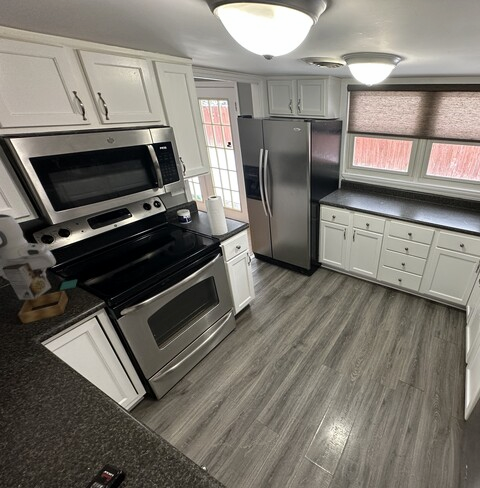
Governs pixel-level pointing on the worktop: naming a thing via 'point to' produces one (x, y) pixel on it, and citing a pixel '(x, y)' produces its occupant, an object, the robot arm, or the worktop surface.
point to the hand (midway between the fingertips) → (29, 279)
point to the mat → (68, 284)
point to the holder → (30, 316)
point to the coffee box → (26, 281)
